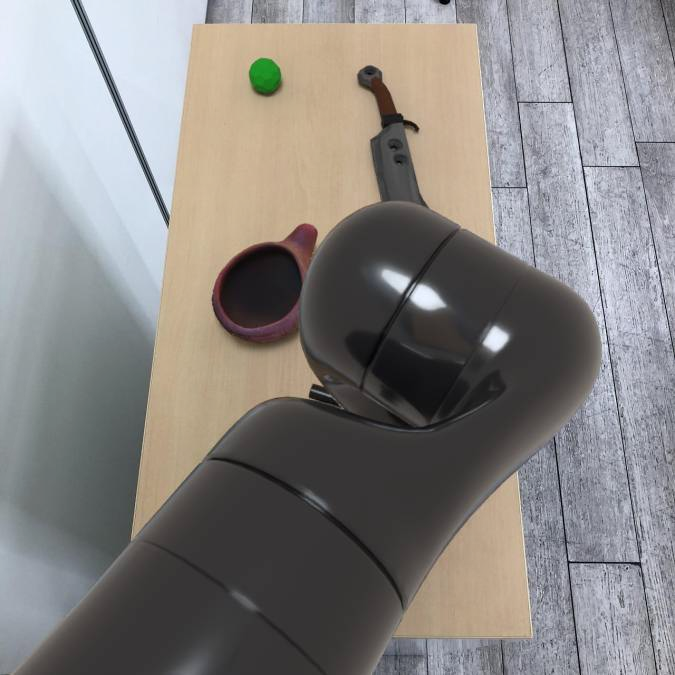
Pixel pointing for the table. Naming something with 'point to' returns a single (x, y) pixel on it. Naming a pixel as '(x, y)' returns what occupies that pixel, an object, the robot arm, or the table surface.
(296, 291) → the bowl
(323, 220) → the table surface
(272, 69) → the polyhedron
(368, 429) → the robot arm
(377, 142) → the knife
